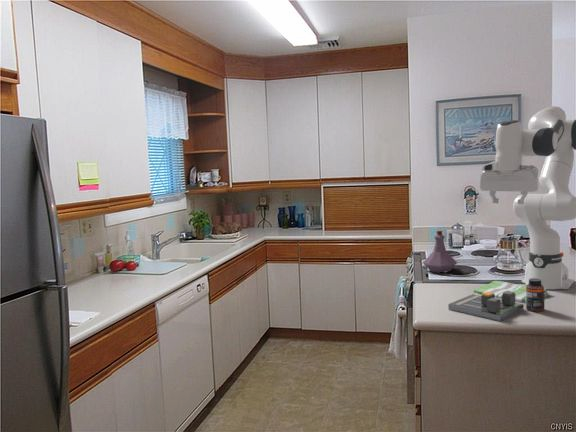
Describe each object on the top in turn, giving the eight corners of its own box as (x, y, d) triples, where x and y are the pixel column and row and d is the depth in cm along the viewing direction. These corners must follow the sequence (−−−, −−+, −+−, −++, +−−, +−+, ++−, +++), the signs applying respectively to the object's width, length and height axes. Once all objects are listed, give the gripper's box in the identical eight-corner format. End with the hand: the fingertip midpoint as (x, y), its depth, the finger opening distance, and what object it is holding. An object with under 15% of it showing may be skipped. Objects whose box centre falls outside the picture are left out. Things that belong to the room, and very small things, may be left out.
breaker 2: (507, 301, 179) (507, 290, 179) (515, 302, 177) (515, 292, 176) (502, 303, 177) (502, 293, 176) (510, 305, 174) (510, 294, 174)
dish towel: (527, 305, 182) (527, 296, 182) (472, 293, 200) (472, 285, 200) (549, 296, 192) (549, 287, 192) (495, 285, 211) (495, 277, 210)
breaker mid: (486, 301, 180) (486, 291, 179) (494, 303, 177) (494, 292, 177) (481, 304, 177) (481, 293, 177) (489, 306, 175) (489, 295, 174)
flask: (456, 267, 245) (455, 228, 243) (459, 275, 229) (458, 233, 227) (422, 267, 249) (421, 228, 247) (423, 274, 234) (422, 234, 231)
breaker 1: (492, 308, 172) (492, 297, 172) (500, 309, 170) (500, 298, 170) (486, 310, 170) (486, 299, 169) (494, 312, 168) (494, 301, 167)
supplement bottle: (538, 306, 178) (538, 276, 177) (547, 311, 172) (548, 280, 171) (522, 307, 178) (522, 277, 177) (531, 312, 172) (531, 281, 171)
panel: (472, 299, 191) (472, 293, 191) (523, 309, 176) (523, 303, 176) (448, 309, 181) (448, 303, 180) (500, 321, 165) (500, 315, 165)
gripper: (542, 164, 169) (541, 204, 170) (486, 166, 185) (486, 202, 186) (533, 165, 165) (533, 205, 166) (477, 166, 181) (477, 203, 182)
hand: (507, 203), depth 176 cm, fingers open, 8 cm apart
